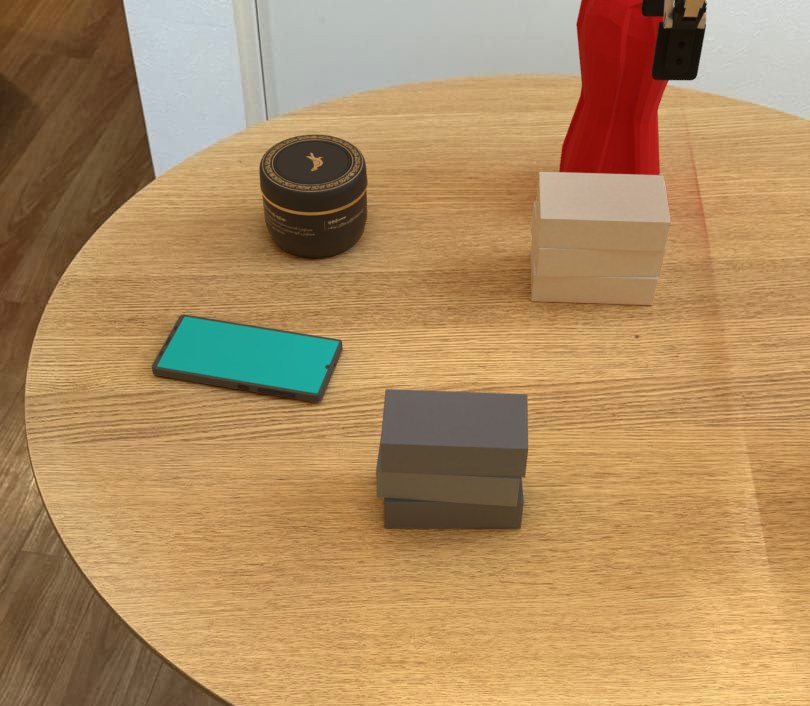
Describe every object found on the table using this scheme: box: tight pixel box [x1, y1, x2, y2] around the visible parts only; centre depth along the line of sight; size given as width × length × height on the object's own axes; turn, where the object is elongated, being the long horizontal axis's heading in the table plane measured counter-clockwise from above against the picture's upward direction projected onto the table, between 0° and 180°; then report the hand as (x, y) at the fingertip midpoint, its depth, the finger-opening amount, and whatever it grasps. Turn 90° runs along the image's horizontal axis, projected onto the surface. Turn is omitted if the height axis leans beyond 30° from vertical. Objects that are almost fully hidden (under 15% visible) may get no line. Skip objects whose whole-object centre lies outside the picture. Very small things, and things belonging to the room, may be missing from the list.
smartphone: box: [151, 314, 344, 404], centre depth 99 cm, size 7×1×15 cm
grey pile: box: [375, 388, 529, 529], centre depth 86 cm, size 11×6×9 cm, turn 87°
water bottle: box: [558, 0, 670, 175], centre depth 106 cm, size 9×11×25 cm
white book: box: [535, 171, 672, 252], centre depth 101 cm, size 11×7×3 cm, turn 87°
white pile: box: [529, 201, 667, 306], centre depth 105 cm, size 11×8×6 cm
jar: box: [258, 133, 369, 259], centre depth 109 cm, size 10×10×8 cm
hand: (667, 45), depth 86 cm, fingers open, 9 cm apart
